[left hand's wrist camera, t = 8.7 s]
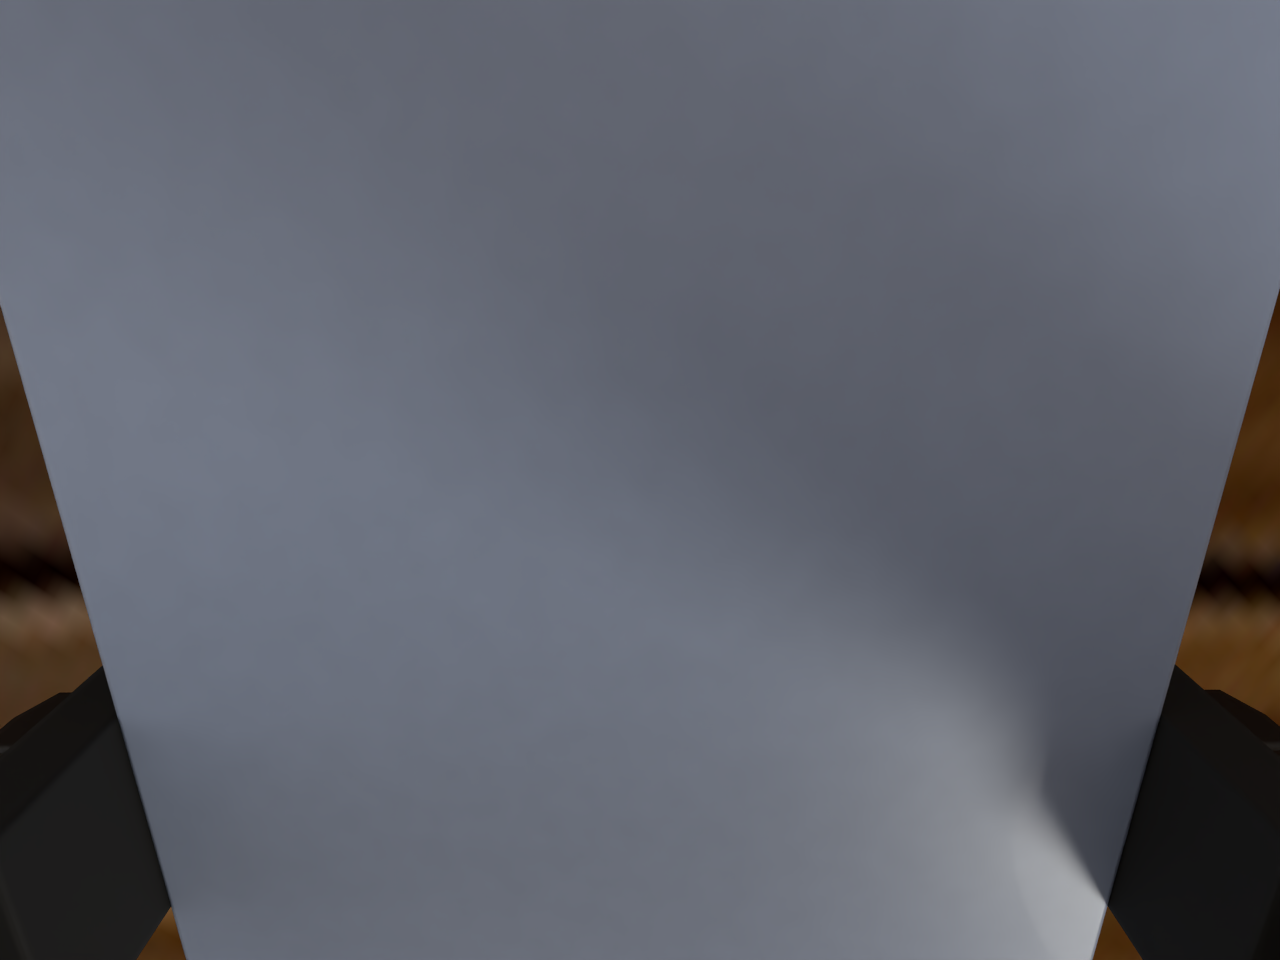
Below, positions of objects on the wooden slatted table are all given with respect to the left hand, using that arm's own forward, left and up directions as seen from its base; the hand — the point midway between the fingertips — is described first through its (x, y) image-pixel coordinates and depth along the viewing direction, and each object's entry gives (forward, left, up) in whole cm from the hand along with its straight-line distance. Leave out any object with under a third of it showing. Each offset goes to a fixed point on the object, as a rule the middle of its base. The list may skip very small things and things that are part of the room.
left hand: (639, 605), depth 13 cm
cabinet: (0, +7, -4) cm, 8 cm away
